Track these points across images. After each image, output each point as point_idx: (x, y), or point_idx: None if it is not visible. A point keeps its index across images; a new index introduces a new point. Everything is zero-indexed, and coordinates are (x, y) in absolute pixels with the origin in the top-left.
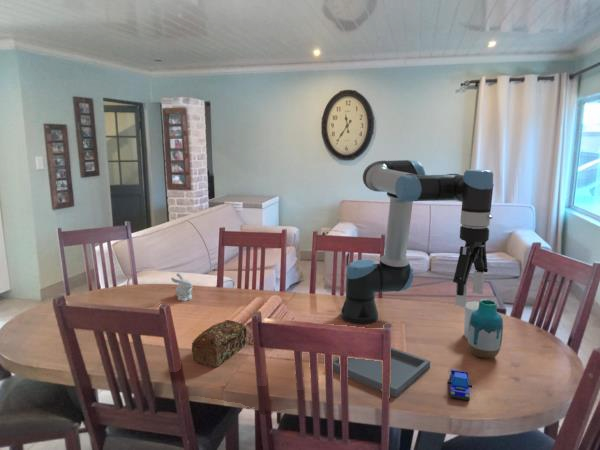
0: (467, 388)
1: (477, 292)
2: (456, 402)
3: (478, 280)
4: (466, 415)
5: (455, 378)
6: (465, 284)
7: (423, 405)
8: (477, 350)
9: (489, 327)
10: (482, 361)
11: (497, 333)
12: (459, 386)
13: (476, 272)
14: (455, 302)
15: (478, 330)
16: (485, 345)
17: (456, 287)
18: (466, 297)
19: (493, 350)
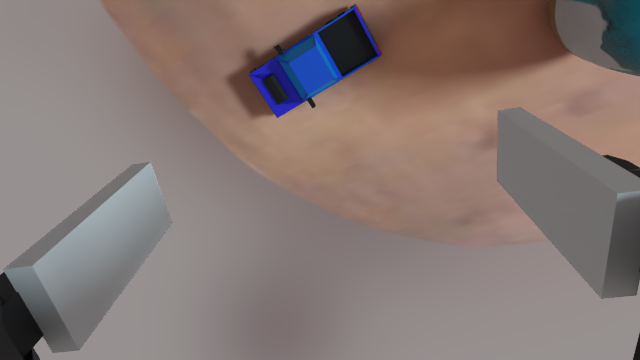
0: (296, 100)
1: (501, 152)
2: (252, 90)
3: (552, 201)
4: (225, 134)
5: (289, 65)
6: (50, 342)
7: (166, 38)
8: (553, 2)
9: (620, 50)
10: (539, 20)
11: (625, 72)
12: (287, 80)
13: (605, 221)
14: (122, 174)
15: (600, 2)
16: (566, 34)
17: (43, 238)
18: (141, 261)
19: (575, 54)
